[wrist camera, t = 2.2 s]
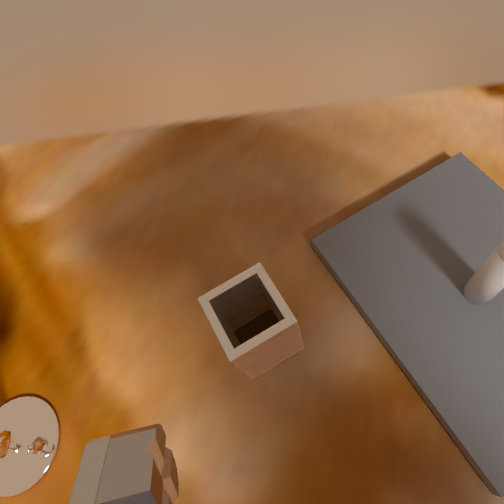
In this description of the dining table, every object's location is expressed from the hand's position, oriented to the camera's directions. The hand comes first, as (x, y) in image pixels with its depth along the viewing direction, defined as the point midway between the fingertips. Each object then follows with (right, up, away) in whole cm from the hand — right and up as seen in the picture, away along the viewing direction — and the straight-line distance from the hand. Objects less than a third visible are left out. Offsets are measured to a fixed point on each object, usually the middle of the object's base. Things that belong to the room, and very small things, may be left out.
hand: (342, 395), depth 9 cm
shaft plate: (+16, -1, +23) cm, 28 cm away
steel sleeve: (-1, -4, +25) cm, 25 cm away
